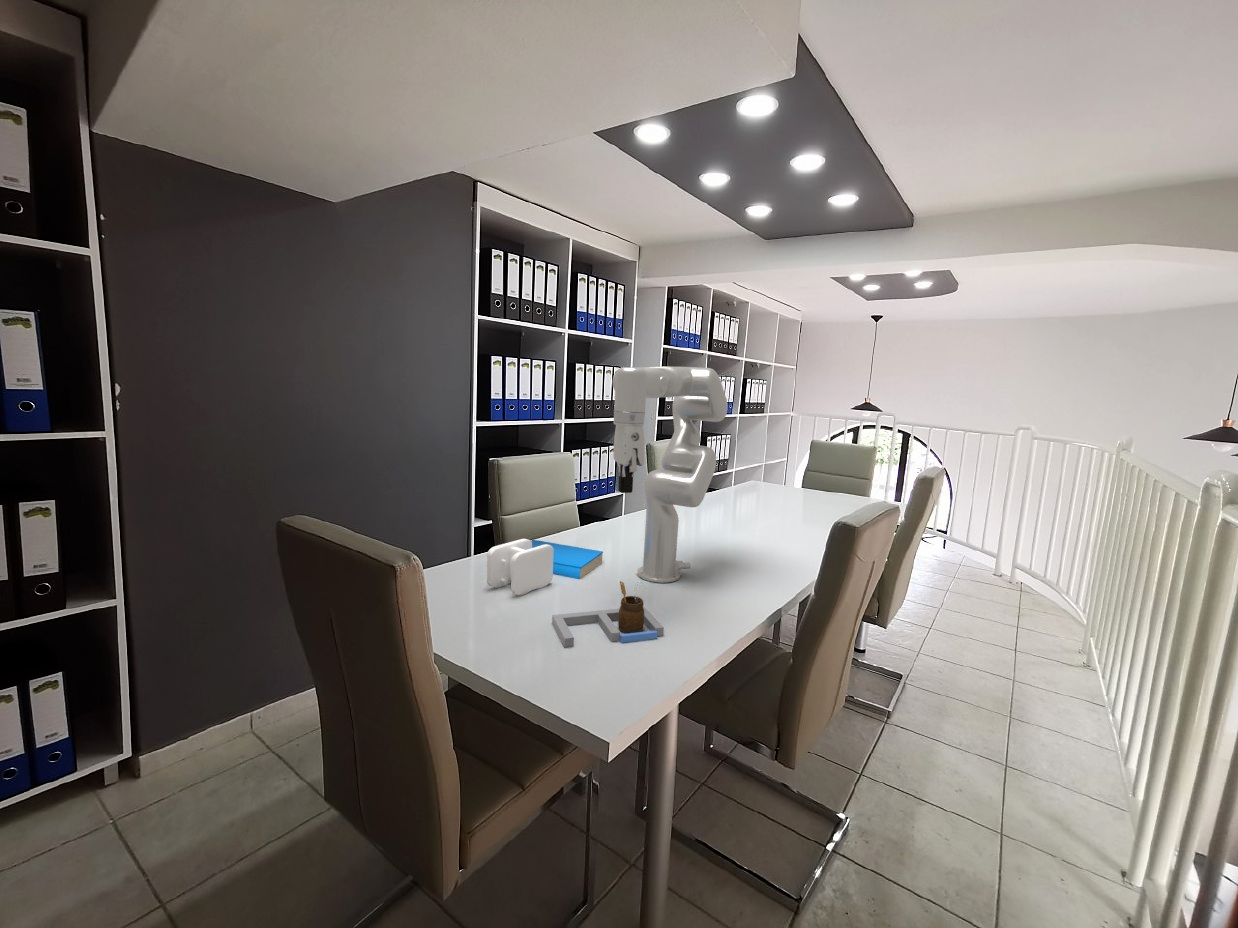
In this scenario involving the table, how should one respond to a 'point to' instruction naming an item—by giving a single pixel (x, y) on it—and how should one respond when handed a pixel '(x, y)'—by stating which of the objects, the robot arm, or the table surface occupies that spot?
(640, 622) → the utensil holder
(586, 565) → the book
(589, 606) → the table surface
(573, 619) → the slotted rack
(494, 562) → the cable organizer
